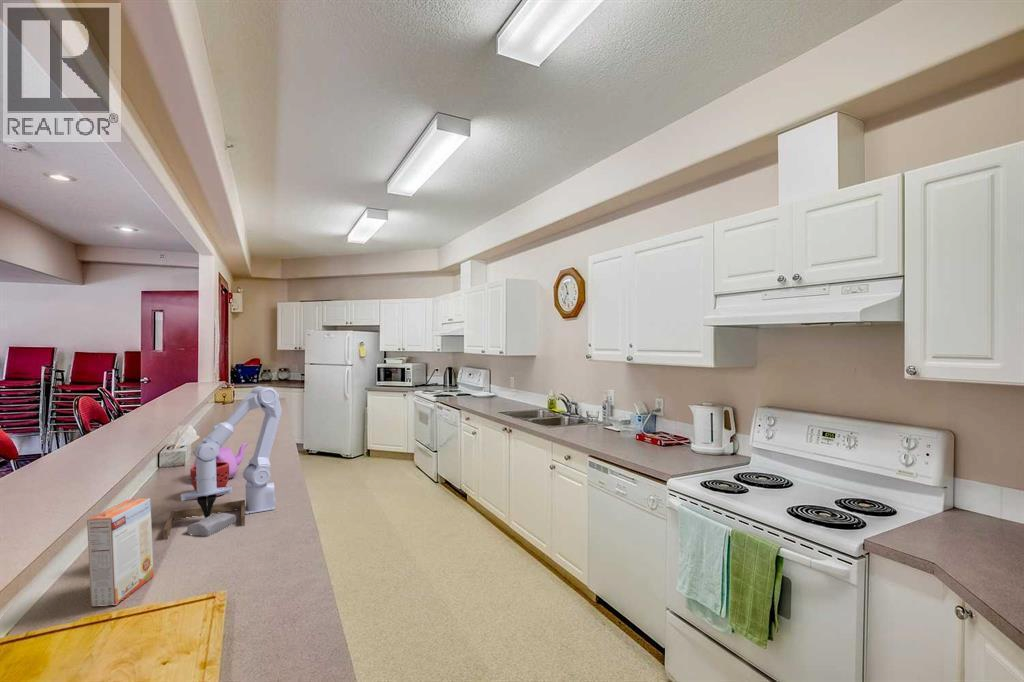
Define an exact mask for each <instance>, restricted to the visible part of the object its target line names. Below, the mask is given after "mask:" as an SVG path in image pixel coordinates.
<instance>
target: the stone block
mask: <svg viewBox="0 0 1024 682" xmlns="http://www.w3.org/2000/svg"><path fill="white" fill-rule="evenodd" d="M236 520H237V518H236V515H235V514H231V513H227V512H222V513H216V514H210V516H208V517H206V518H205V517H204V518H202V519H200V520H199V521H196V522H194V523H191V524H189V525H187V529H186V531H187V535H188V534H192V535H203V536H202V537H210V535H211V536H213V535H215V534H217V533H219V532H221V531H222V529H223V530H225V529H227V528H228V526H229V525H231V524H233V523H234V524H235V523H236ZM234 524H233V525H234ZM231 526H232V525H231ZM226 527H227V528H226ZM229 527H230V526H229ZM224 528H225V529H224ZM220 530H221V531H220ZM218 531H219V532H218ZM216 532H217V533H216ZM214 533H215V534H214ZM212 534H213V535H212Z"/></svg>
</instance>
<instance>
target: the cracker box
mask: <svg viewBox="0 0 1024 682" xmlns="http://www.w3.org/2000/svg"><path fill="white" fill-rule="evenodd" d="M86 525H87V527H86V528H87V547H88V566H89V567H88V568H89V585H90V586H89V589H90V605H91V606H98V605H112V604H117V603H119V602H120V601H121V600H123V599H124V598H125V599H126V597H127V596H128V595H129V596H130V595H132V594H133V593H135V592H136V591H137V590H138V589H140V588H141V587H142V586H143V585H144V584H146V583H147V582H148V581H150V580H151V579H152V578H153V577H154V576H155V575H154V553H153V533H152V532H153V531H152V508H151V497H150V498H149V497H148V498H129V499H126V500H125V501H122V502H120V503H119V504H117V505H114V506H112V507H110V508H108V509H107V510H106V509H105V510H104V511H102V512H100V513H98V514H96V515H94V516H92V517H90V518H88V519H87V520H86ZM135 590H136V591H135ZM132 592H133V593H132ZM131 593H132V594H131ZM129 596H128V597H129ZM128 597H127V598H128ZM125 599H124V600H125ZM124 600H123V601H124ZM121 602H122V601H121ZM121 602H120V603H121ZM120 603H119V604H120ZM91 606H90V607H91Z"/></svg>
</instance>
